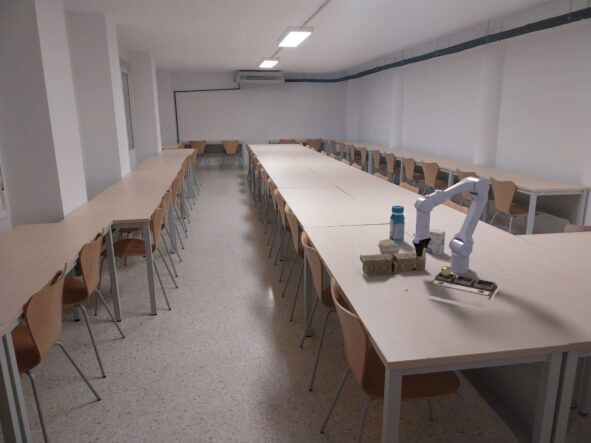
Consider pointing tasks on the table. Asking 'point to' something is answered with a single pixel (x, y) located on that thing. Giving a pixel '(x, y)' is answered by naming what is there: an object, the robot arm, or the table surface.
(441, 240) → the ink box
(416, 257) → the brass peg
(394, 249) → the fossil replica
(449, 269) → the placed peg
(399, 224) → the beverage bottle
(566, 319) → the table surface
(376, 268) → the block tower
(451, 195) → the robot arm
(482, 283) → the board
